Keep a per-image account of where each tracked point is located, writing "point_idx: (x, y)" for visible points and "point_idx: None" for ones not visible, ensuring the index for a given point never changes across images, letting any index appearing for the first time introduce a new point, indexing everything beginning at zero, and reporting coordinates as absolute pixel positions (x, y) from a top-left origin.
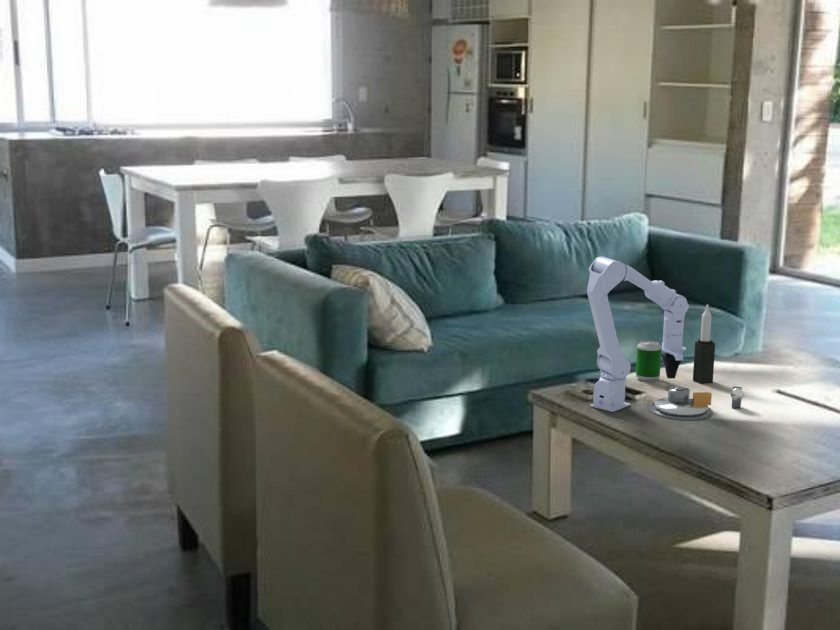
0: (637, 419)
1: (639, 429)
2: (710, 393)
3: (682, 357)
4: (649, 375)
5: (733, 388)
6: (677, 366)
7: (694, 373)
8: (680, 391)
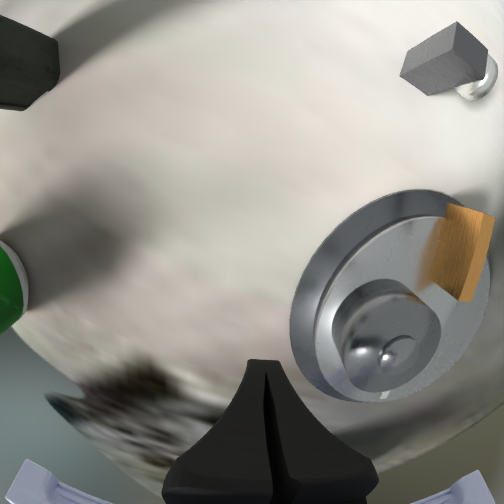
0: (410, 426)
1: (454, 421)
2: (493, 223)
3: (484, 487)
4: (19, 298)
5: (483, 76)
6: (313, 424)
7: (6, 104)
8: (424, 354)
